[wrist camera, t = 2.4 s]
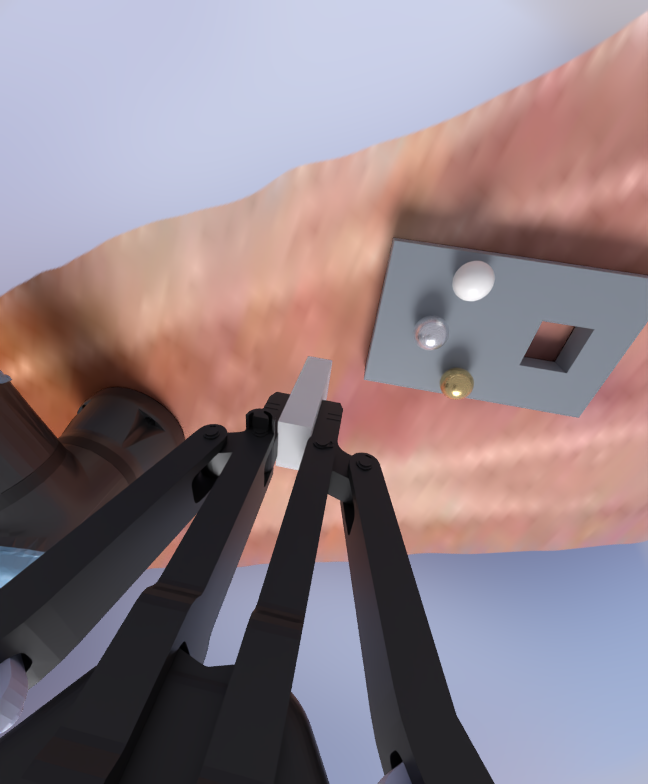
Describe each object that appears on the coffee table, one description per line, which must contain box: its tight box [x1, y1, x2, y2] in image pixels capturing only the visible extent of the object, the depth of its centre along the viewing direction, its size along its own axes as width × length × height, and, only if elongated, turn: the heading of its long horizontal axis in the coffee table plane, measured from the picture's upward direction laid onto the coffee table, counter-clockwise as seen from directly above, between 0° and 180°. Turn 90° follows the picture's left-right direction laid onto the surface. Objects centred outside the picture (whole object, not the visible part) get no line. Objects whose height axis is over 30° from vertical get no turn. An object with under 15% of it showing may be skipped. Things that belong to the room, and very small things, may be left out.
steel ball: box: [413, 316, 449, 351], centre depth 29 cm, size 3×3×3 cm
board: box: [364, 238, 648, 418], centre depth 31 cm, size 23×14×2 cm, turn 83°
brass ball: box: [439, 368, 474, 400], centre depth 31 cm, size 3×3×3 cm
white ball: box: [452, 261, 495, 301], centre depth 26 cm, size 3×3×3 cm
